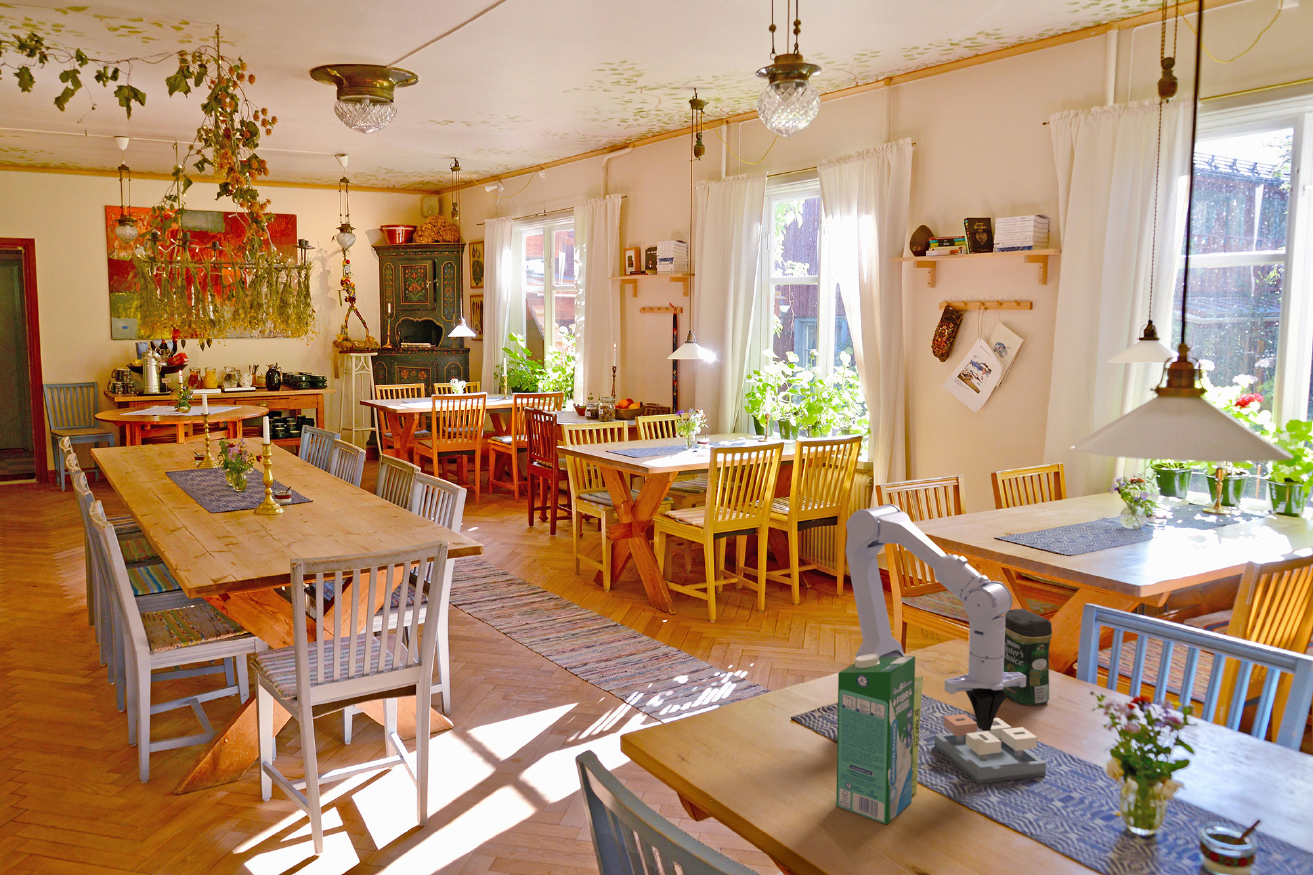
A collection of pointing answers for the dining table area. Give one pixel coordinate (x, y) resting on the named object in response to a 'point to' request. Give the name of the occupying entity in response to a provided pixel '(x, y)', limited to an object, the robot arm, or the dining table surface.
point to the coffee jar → (1027, 655)
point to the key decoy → (960, 725)
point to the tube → (916, 730)
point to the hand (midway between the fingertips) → (983, 728)
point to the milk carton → (875, 736)
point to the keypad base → (990, 761)
